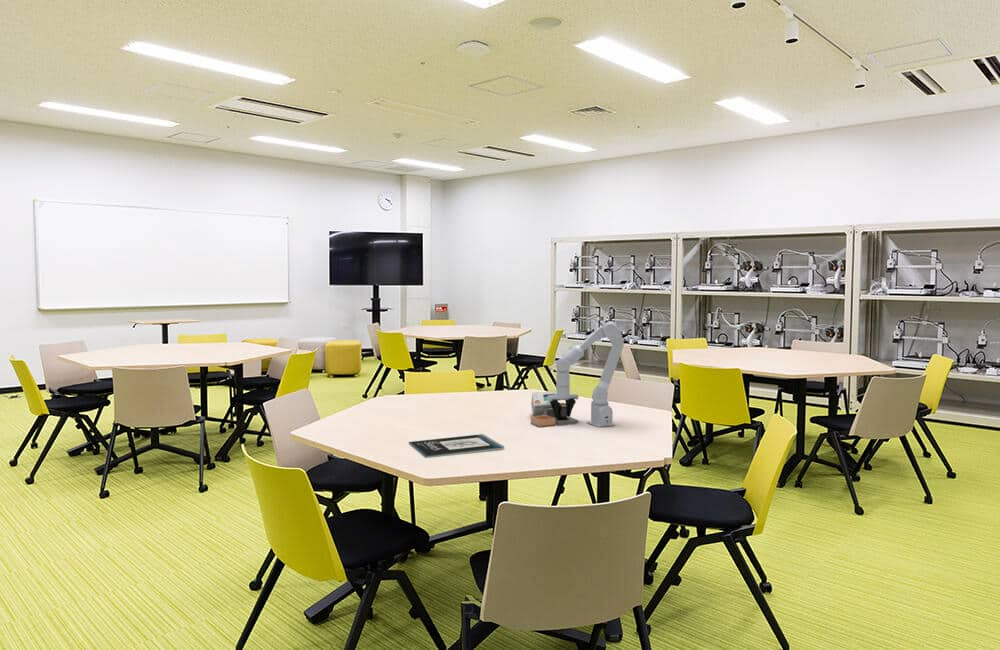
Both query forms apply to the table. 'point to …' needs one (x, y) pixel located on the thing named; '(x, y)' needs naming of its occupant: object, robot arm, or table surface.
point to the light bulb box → (540, 402)
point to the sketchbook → (456, 445)
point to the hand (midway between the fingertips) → (562, 416)
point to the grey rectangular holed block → (563, 422)
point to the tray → (543, 421)
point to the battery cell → (562, 411)
